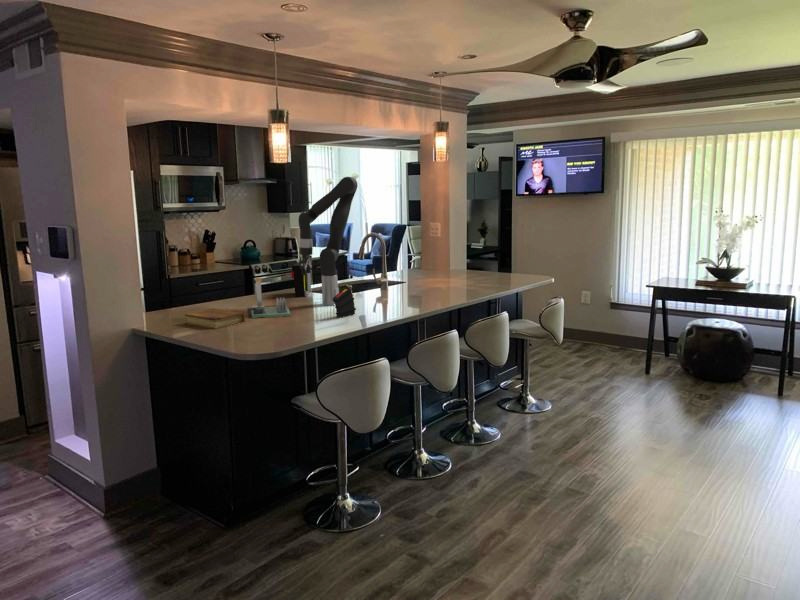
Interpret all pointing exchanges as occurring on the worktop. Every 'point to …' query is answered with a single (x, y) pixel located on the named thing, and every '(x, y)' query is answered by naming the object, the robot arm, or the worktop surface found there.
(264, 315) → the board
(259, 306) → the clip lever
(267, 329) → the worktop surface
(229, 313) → the diary
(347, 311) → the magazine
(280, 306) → the heatsink
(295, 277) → the electrical component
